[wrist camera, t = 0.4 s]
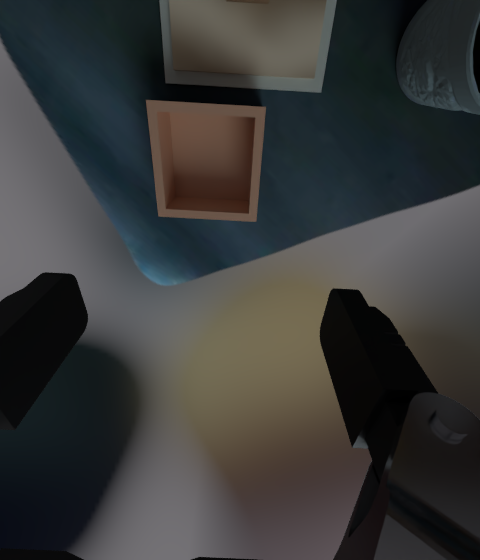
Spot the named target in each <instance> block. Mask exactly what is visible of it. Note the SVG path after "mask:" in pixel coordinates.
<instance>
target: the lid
mask: <svg viewBox="0 0 480 560" xmlns="http://www.w3.org/2000/svg"><path fill="white" fill-rule="evenodd" d="M326 1H327V0H169V7H170V23H171V40H172V56H173V70H175V71H190V72H206V73H223V74H239V75H256V76H272V77H289V78H305V79H314V78H315V72H316V65H317V59H318V52H319V46H320V40H321V33H322V27H323V20H324V14H325V8H326Z"/></svg>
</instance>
